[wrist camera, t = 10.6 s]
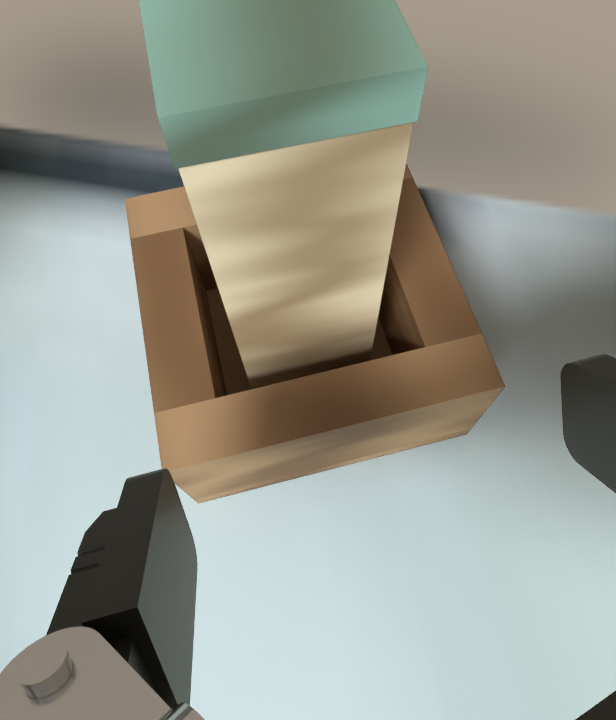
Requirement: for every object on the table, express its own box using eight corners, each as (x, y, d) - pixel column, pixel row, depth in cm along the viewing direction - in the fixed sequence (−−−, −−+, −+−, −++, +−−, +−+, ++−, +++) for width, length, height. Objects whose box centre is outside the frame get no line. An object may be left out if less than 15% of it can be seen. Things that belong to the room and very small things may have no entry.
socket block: (198, 503, 18) (162, 472, 14) (161, 273, 22) (124, 199, 18) (466, 433, 19) (505, 386, 15) (383, 224, 23) (396, 141, 19)
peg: (255, 405, 19) (157, 117, 8) (234, 307, 20) (131, -43, 9) (368, 379, 19) (428, 66, 8) (339, 284, 21) (355, -81, 10)
